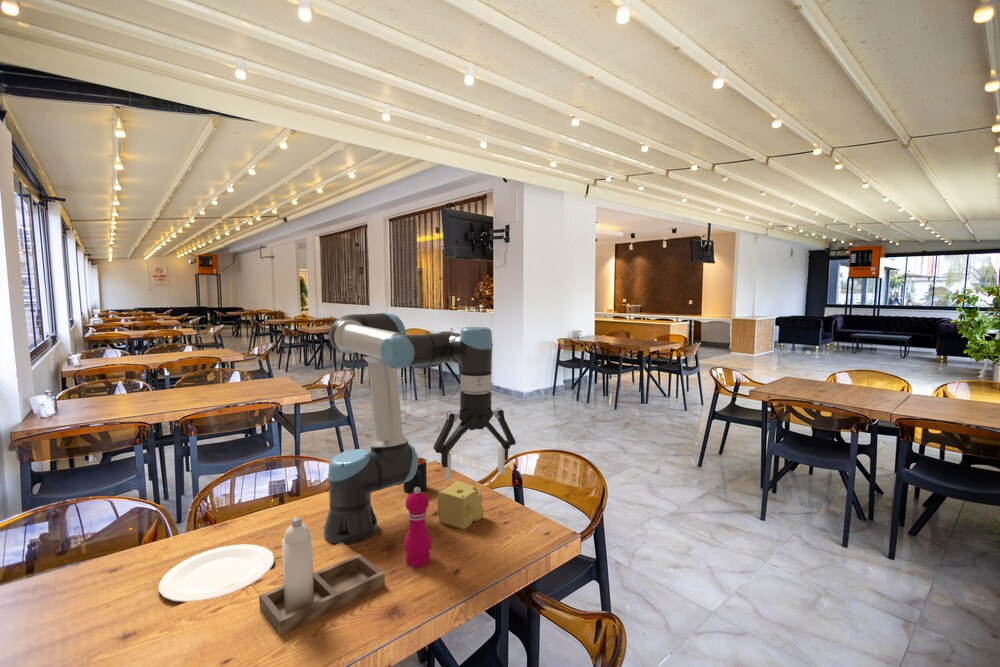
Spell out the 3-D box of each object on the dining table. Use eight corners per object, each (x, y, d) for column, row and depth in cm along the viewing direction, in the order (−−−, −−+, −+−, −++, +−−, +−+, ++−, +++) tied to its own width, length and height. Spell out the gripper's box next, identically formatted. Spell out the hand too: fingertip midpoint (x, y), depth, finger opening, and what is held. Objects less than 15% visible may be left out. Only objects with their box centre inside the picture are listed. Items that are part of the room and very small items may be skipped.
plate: (256, 540, 137) (256, 534, 137) (289, 576, 119) (289, 569, 119) (149, 575, 120) (149, 568, 120) (170, 623, 102) (170, 616, 102)
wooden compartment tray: (280, 641, 96) (279, 621, 96) (259, 613, 105) (259, 595, 104) (384, 590, 113) (384, 573, 113) (359, 569, 122) (359, 554, 121)
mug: (409, 499, 164) (408, 470, 163) (401, 487, 175) (400, 459, 174) (432, 495, 167) (432, 466, 166) (423, 483, 178) (422, 456, 177)
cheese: (483, 517, 151) (483, 486, 150) (463, 531, 142) (463, 498, 141) (457, 509, 156) (457, 479, 156) (436, 522, 147) (436, 491, 146)
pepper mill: (426, 570, 121) (425, 493, 120) (399, 566, 123) (398, 491, 121) (435, 555, 129) (434, 483, 127) (410, 552, 130) (409, 480, 128)
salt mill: (280, 607, 105) (277, 519, 103) (307, 595, 109) (304, 510, 107) (291, 621, 101) (287, 529, 99) (318, 607, 105) (316, 519, 103)
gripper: (427, 397, 107) (427, 488, 109) (529, 391, 116) (527, 475, 118) (421, 390, 114) (421, 476, 116) (517, 385, 123) (516, 465, 125)
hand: (475, 476), depth 117 cm, fingers open, 13 cm apart
